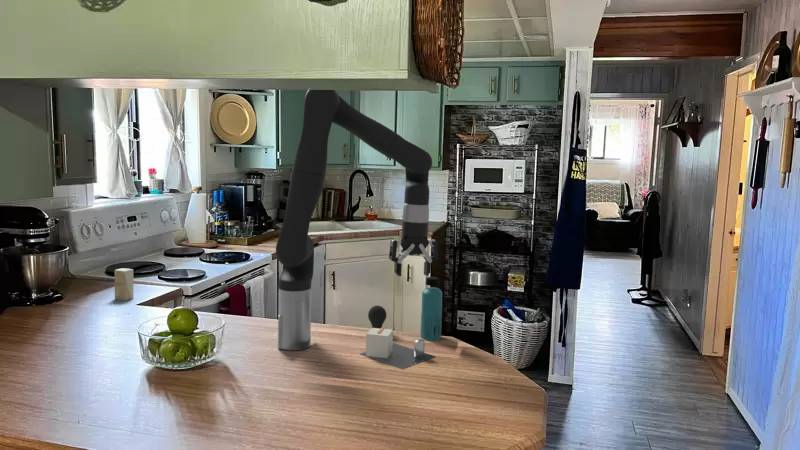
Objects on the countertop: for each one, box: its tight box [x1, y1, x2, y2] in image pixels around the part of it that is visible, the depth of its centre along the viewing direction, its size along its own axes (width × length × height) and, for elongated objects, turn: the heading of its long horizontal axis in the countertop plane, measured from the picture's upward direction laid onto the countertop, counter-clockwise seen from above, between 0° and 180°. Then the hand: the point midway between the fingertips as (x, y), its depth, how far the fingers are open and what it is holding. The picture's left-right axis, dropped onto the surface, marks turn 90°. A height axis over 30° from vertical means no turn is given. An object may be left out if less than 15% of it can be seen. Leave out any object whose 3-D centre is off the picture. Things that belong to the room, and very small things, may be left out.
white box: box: [365, 327, 394, 358], centre depth 165 cm, size 6×6×6 cm
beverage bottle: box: [420, 276, 443, 342], centre depth 180 cm, size 6×7×20 cm
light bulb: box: [367, 305, 387, 329], centre depth 184 cm, size 6×6×10 cm
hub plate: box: [359, 338, 437, 371], centre depth 164 cm, size 14×16×6 cm
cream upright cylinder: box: [114, 267, 134, 301], centre depth 220 cm, size 5×4×11 cm
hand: (412, 275), depth 173 cm, fingers open, 8 cm apart
